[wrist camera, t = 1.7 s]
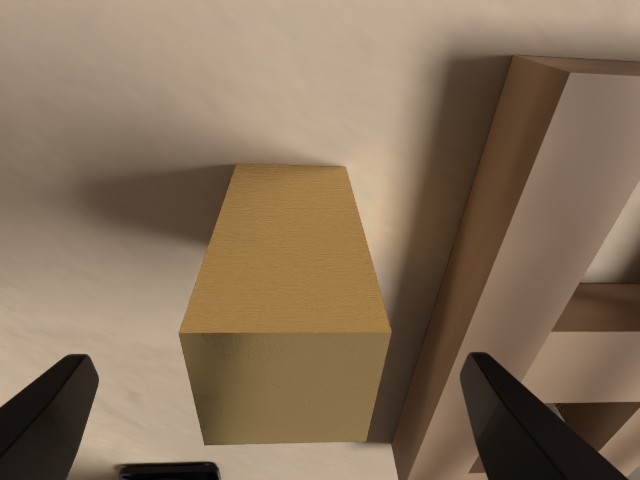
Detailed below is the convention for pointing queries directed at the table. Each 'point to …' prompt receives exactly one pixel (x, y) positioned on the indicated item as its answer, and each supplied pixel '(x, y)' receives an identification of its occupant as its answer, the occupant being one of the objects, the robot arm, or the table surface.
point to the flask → (635, 474)
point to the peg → (286, 313)
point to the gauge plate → (538, 270)
